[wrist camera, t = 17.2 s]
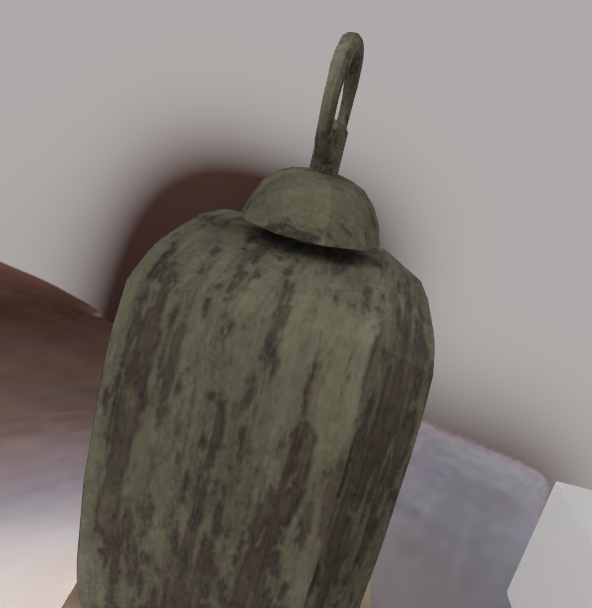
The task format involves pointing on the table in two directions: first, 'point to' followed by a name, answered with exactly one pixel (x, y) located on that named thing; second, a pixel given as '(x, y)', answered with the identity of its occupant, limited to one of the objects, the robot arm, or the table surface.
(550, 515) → the robot arm
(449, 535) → the table surface
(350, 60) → the tabletop clock
